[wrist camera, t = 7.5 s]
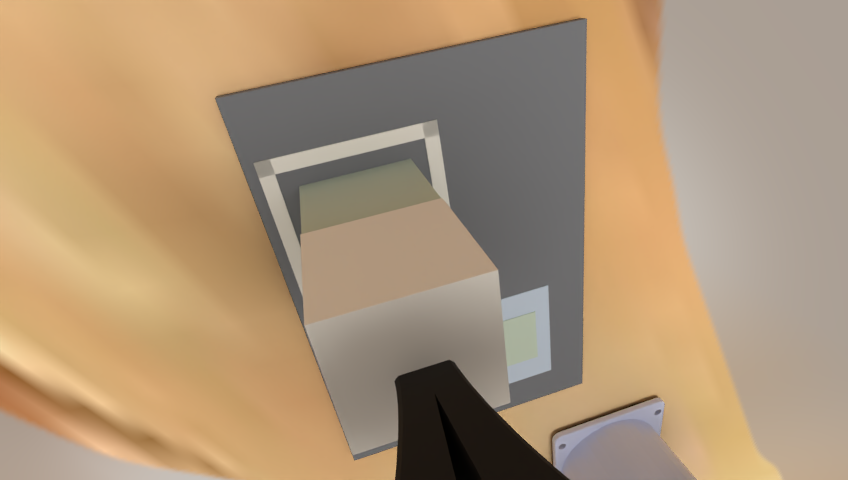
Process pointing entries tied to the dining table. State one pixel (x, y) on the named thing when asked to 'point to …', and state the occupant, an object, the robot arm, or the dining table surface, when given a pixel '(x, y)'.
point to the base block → (363, 195)
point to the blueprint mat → (450, 170)
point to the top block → (399, 312)
